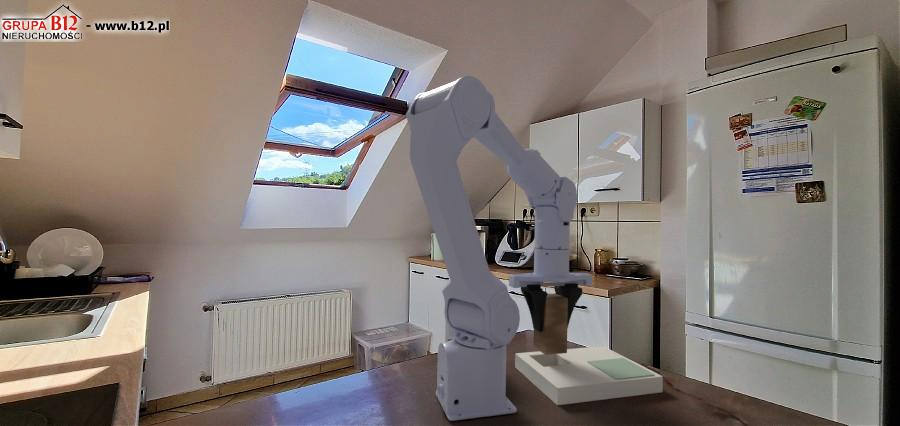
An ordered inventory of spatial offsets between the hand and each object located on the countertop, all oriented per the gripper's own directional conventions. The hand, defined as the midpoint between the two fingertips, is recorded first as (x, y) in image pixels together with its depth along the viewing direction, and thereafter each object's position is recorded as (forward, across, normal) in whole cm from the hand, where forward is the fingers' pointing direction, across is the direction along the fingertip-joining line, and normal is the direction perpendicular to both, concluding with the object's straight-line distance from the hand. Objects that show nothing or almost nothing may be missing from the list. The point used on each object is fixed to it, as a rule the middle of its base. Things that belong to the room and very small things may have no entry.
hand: (550, 329), depth 65 cm
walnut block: (+3, 0, 0) cm, 3 cm away
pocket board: (+8, +5, -3) cm, 9 cm away
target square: (+5, +9, -6) cm, 12 cm away
